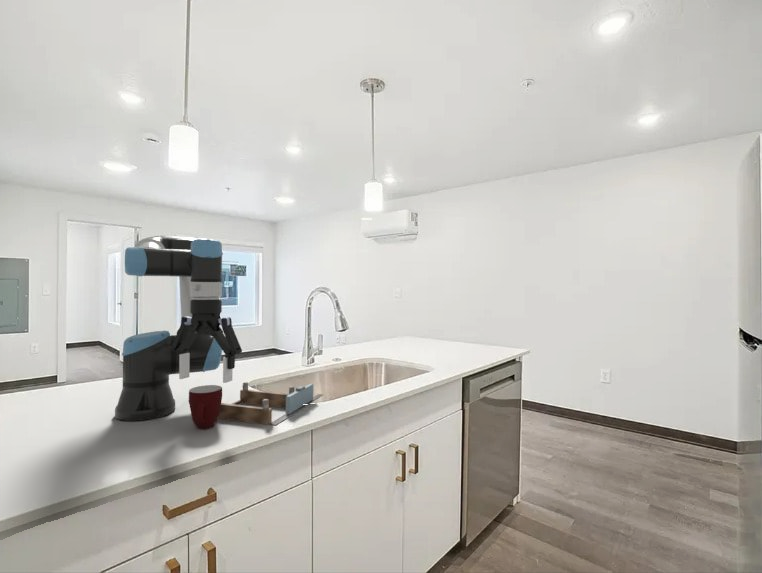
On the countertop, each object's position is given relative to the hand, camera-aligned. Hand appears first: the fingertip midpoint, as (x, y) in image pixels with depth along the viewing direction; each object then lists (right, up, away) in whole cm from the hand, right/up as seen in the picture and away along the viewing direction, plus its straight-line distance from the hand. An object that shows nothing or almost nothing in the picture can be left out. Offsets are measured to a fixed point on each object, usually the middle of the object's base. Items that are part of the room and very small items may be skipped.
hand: (205, 380), depth 102 cm
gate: (+21, -12, +18) cm, 30 cm away
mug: (0, -13, 0) cm, 13 cm away
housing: (+11, -13, +20) cm, 27 cm away
